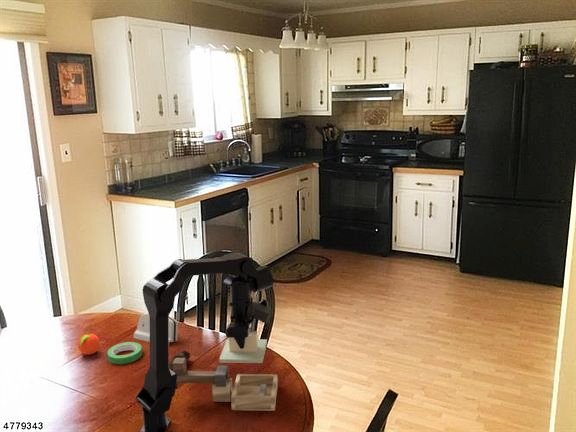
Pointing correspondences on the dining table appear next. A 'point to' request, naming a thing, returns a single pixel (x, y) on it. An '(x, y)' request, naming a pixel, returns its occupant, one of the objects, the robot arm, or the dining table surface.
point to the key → (191, 373)
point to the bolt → (179, 355)
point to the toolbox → (245, 390)
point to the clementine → (88, 344)
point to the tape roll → (124, 358)
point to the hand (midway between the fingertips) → (242, 345)
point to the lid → (244, 350)
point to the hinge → (144, 329)
